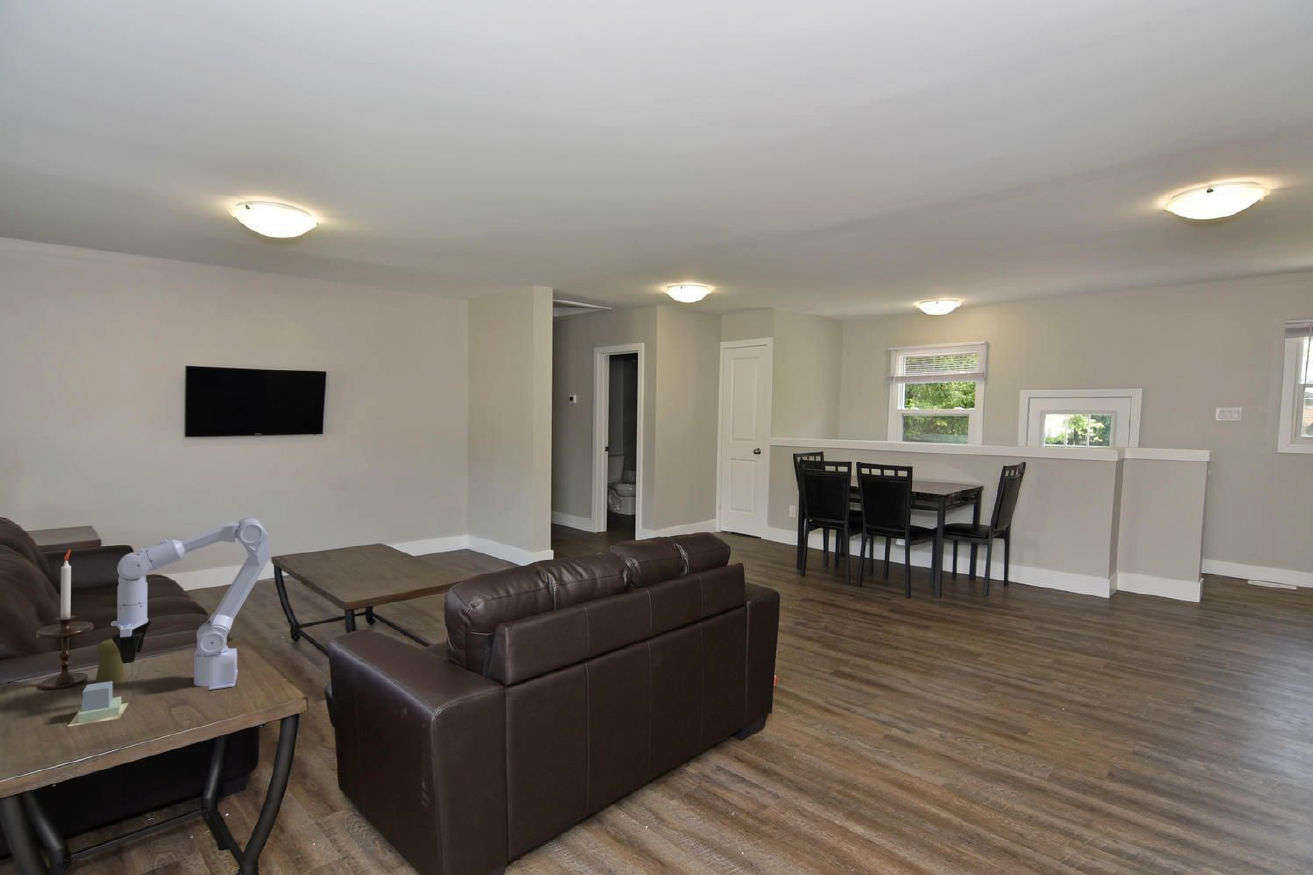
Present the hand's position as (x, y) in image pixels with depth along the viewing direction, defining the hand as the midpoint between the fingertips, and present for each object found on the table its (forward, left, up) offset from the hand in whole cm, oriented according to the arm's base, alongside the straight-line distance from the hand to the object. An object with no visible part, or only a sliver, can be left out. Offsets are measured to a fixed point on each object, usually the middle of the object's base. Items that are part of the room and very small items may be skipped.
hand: (131, 657), depth 159 cm
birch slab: (+4, +10, -11) cm, 16 cm away
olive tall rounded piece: (+7, -15, -11) cm, 20 cm away
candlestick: (+17, -19, -11) cm, 28 cm away
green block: (+4, +10, -9) cm, 14 cm away
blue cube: (+4, +10, -7) cm, 13 cm away
